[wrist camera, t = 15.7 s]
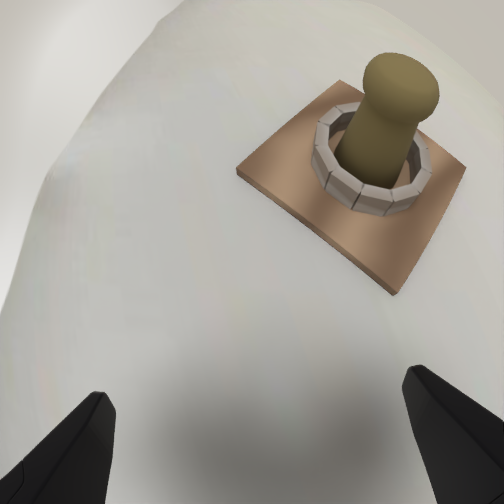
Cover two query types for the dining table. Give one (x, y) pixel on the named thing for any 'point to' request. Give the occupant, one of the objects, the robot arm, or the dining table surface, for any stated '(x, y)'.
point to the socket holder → (354, 189)
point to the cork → (387, 119)
